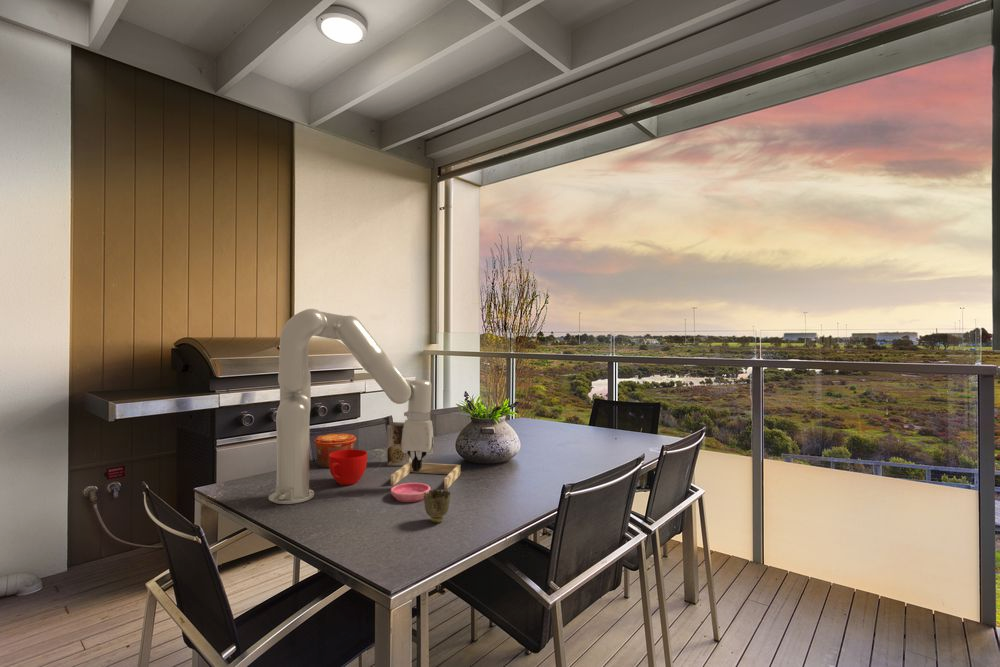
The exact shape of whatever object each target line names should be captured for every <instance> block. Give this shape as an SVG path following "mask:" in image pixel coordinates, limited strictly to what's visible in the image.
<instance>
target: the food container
mask: <svg viewBox="0 0 1000 667" xmlns="http://www.w3.org/2000/svg"><path fill="white" fill-rule="evenodd" d="M356 441H357V437H356V436H355V435H354V434H349V433H328V434H327V433H326V434H325V435H324V434H323V435H318V436H317V437H316V438H314V440H313V442H314V444H315V449H316V459H317V465H318V467H321V468H324V469H330V467H329V454H330V453H332V452H335V451H340V450H355V442H356Z"/></svg>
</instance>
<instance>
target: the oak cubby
mask: <svg viewBox="0 0 1000 667" xmlns="http://www.w3.org/2000/svg"><path fill="white" fill-rule="evenodd" d="M410 473H417V474H437V475H438V474H439V475H446V477H444V482H443V484H444V485H443V486H444V487H443V488H444V489H445V490H448V489H449V488H450V487H451V485H452V484H453V483H454V482H455V481H456V480H457V479H458V478H459V477H460V476H461V464H451V463H450V464H449V463H433V462H422V468H421V469H420V470H419V471H418V472H416V471H415V472H414V471H413V468H412V462H408V463H407V464H406V465H404V466H400V468H399V469H397V470H396V471H395V472H393V473H391V475H390V486H393V487H394V486H396V485H397V483H399V482H400V481H401V480H402V479H404V478H405V477H406V476H408V475H409V474H410Z"/></svg>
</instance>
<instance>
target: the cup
mask: <svg viewBox="0 0 1000 667" xmlns="http://www.w3.org/2000/svg"><path fill="white" fill-rule="evenodd" d="M450 500H451V492H450V491H448V490H446V489H444V490H441V488H440V489H439V490H438V489H436V488H434V489H433V490H431V489H430V490H429V494H428V493H427V494H426V492H425V493H424V499H423V502H424V510H425V513H426V515H427V516H429V517H430V518H429V520H430V522H431V523H433V524H439V523H442V522H443V520H444V516H445V515H446V514H447V513H448V510H449V508H450V507H449V506H450Z"/></svg>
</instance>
